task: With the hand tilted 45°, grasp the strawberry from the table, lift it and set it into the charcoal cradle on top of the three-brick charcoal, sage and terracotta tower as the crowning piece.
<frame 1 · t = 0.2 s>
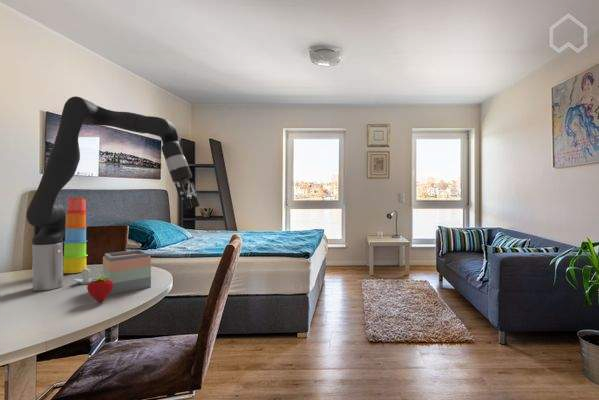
hand: (193, 207, 123), 31 cm above the table, tool tilted 20°, fingers open, 8 cm apart
pacifier: (86, 283, 129), on the table
stacking cups: (75, 272, 147), on the table
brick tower: (127, 287, 123), on the table
strawberry: (100, 302, 105), on the table
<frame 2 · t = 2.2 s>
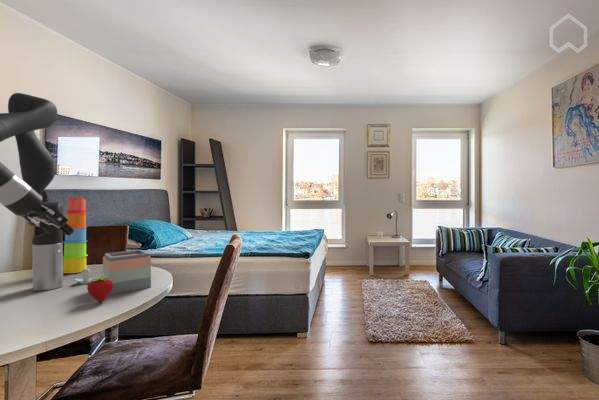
hand: (62, 232, 95), 25 cm above the table, tool tilted 45°, fingers open, 8 cm apart
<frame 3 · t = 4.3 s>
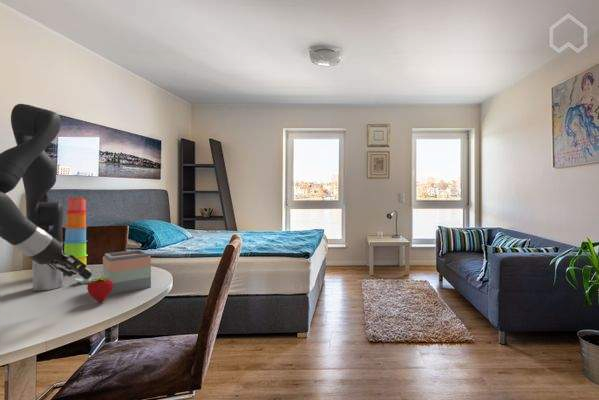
hand: (80, 275, 100), 10 cm above the table, tool tilted 45°, fingers open, 8 cm apart
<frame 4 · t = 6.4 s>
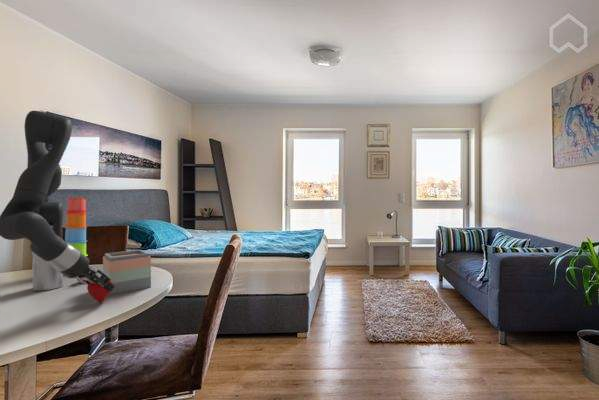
hand: (105, 287, 107), 4 cm above the table, tool tilted 45°, fingers closed on strawberry, 6 cm apart
strawberry: (100, 302, 105), on the table, touching gripper
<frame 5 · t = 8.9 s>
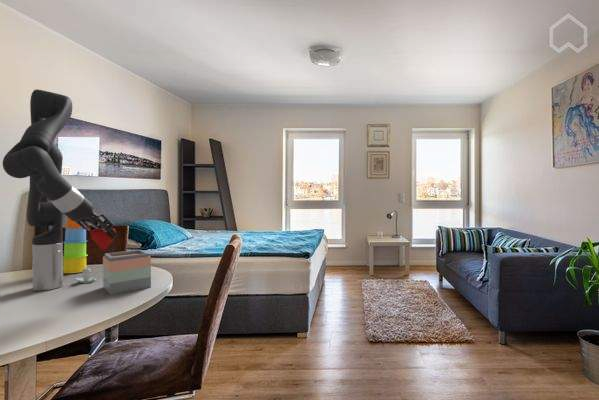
hand: (108, 235, 109), 22 cm above the table, tool tilted 45°, fingers closed on strawberry, 6 cm apart
strawberry: (103, 249, 108), point 17 cm above the table, touching gripper
when the fingers open (18 cm above the table, at t = 11.4 s): strawberry drops 1 cm, resting on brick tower.
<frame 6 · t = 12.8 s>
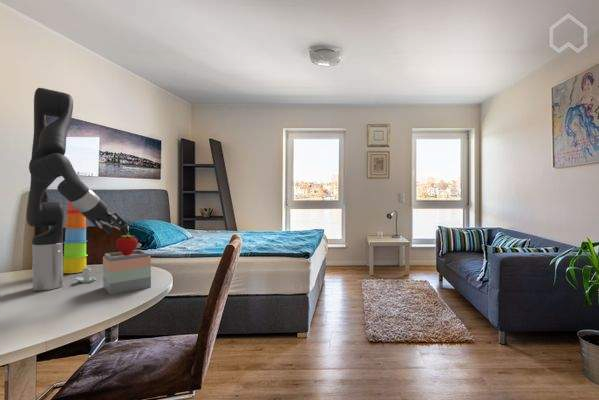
hand: (119, 232, 119), 22 cm above the table, tool tilted 45°, fingers open, 8 cm apart
strawberry: (126, 256, 122), point 12 cm above the table, touching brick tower
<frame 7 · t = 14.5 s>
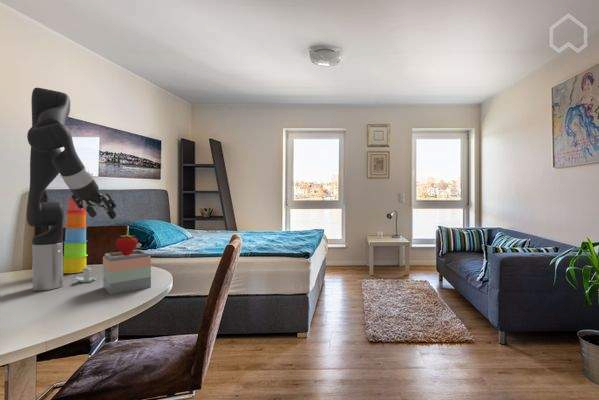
hand: (104, 216, 115), 28 cm above the table, tool tilted 40°, fingers open, 8 cm apart
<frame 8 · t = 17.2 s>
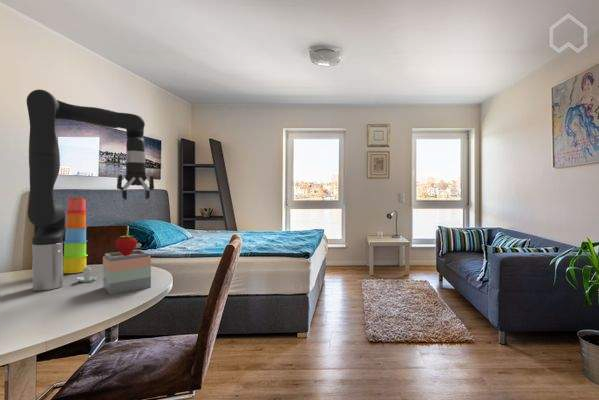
hand: (136, 199, 137), 34 cm above the table, tool pointing down, fingers open, 8 cm apart
at the end: strawberry inside the target area on the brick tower (0.2 cm from its centre), point 11.8 cm above the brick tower's base; the gripper is holding nothing; strawberry tilted 0° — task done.
